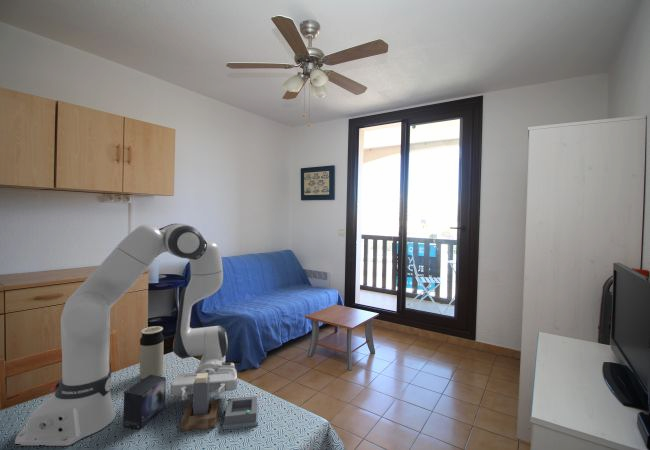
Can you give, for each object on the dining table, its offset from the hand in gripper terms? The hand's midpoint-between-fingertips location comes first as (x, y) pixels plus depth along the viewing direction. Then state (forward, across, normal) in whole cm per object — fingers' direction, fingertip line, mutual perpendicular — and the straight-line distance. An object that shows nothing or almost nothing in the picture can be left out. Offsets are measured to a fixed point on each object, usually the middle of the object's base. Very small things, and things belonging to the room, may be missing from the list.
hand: (201, 396), depth 93 cm
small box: (-5, -17, +8) cm, 19 cm away
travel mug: (-32, -24, +8) cm, 41 cm away
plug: (-1, 0, +8) cm, 8 cm away
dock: (0, +12, +8) cm, 14 cm away
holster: (-1, 0, +8) cm, 8 cm away
